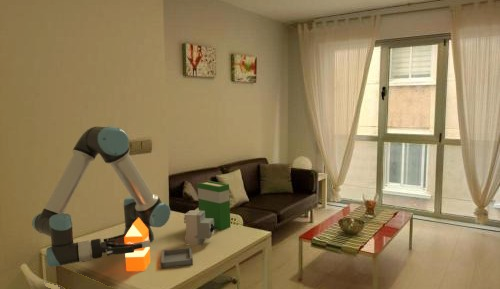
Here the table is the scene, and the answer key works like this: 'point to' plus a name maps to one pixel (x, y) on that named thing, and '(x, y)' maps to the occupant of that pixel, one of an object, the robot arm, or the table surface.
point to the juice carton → (139, 256)
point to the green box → (215, 203)
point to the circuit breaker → (198, 227)
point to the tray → (176, 257)
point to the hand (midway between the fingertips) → (147, 239)
